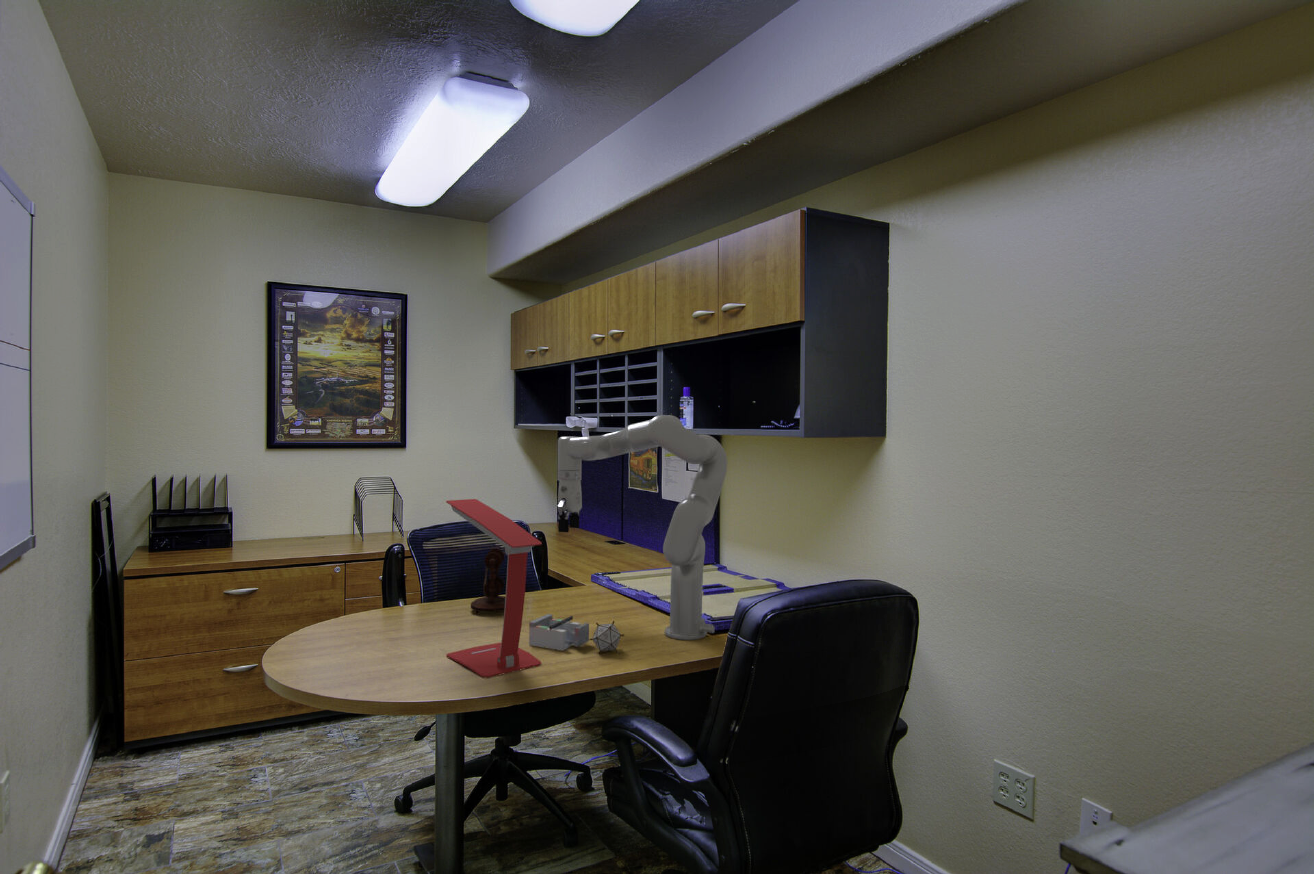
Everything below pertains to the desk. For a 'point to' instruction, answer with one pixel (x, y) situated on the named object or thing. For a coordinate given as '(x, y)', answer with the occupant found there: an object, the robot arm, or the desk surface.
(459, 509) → the desk lamp
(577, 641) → the grey channel block
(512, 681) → the desk surface
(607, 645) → the game die
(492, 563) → the brown jointed stand
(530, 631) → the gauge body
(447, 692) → the desk surface
